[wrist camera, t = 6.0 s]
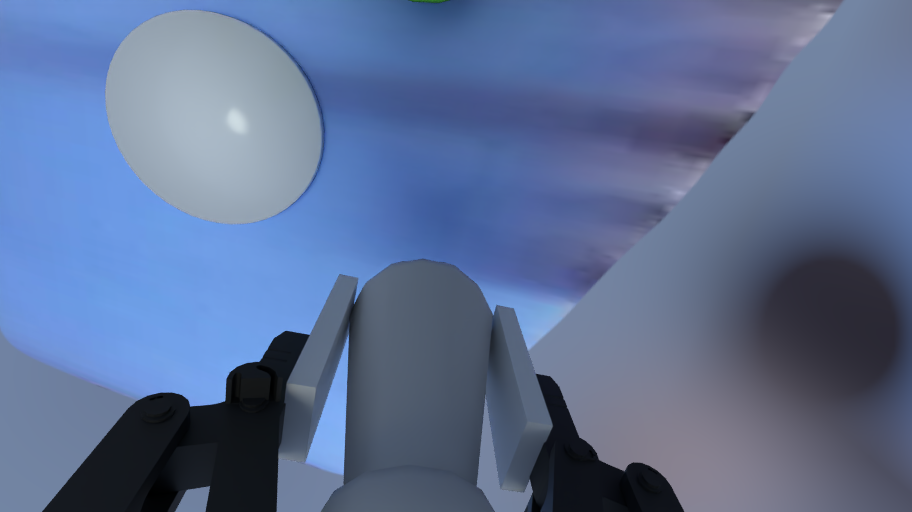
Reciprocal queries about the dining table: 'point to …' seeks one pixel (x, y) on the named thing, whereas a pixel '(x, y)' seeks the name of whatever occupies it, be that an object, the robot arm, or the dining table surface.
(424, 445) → the salt shaker
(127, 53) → the ceramic plate
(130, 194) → the dining table surface
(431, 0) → the cup
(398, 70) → the dining table surface
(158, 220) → the dining table surface
